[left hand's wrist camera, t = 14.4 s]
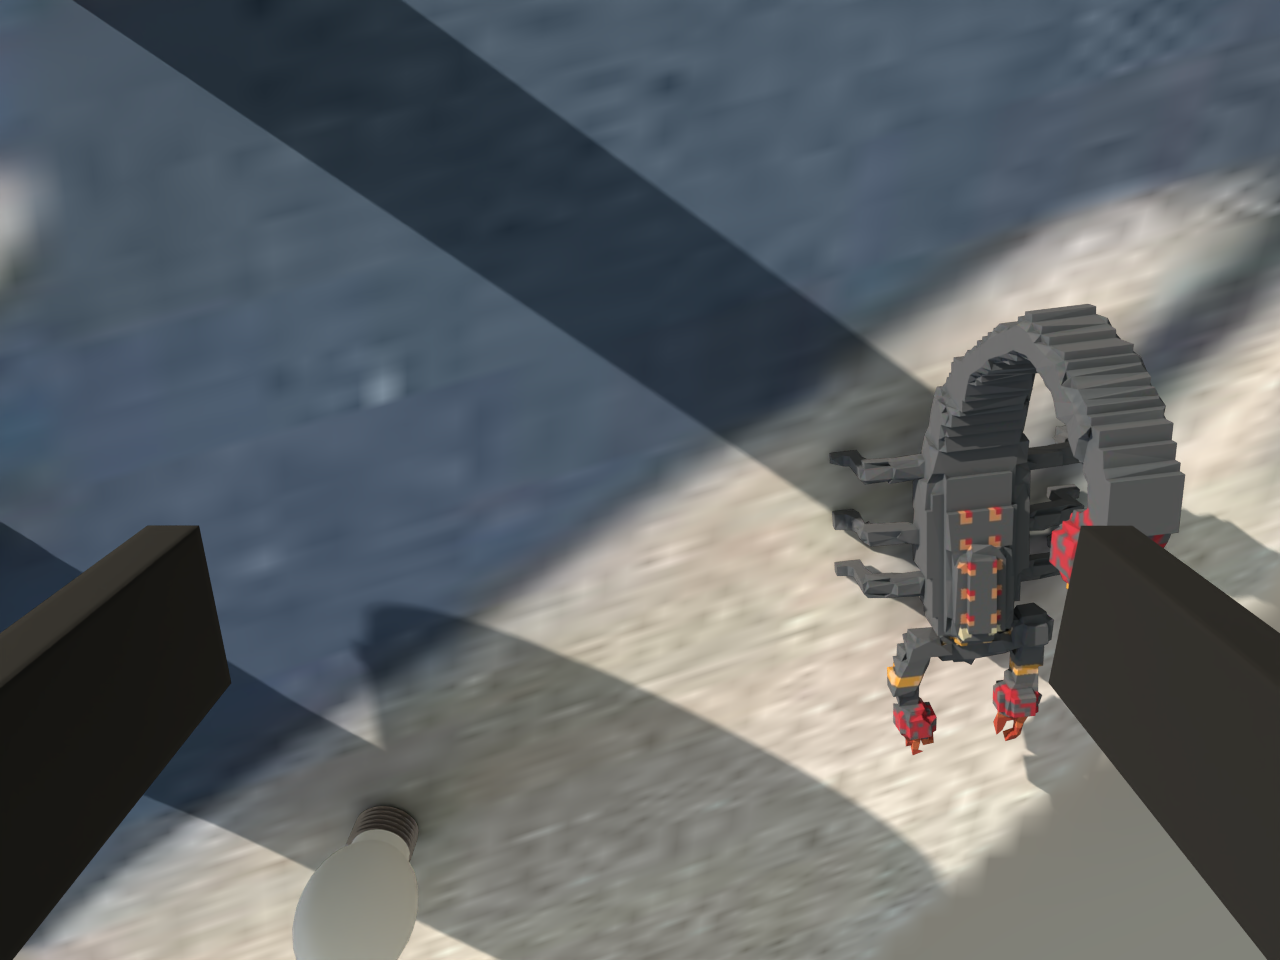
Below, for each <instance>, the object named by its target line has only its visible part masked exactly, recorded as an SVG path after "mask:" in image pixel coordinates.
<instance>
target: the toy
mask: <svg viewBox="0 0 1280 960" xmlns="http://www.w3.org/2000/svg"><path fill="white" fill-rule="evenodd" d="M1133 346H1134V344H1132V343H1129V342H1126V341H1124V340H1121V339H1120V338H1119V336H1118V335H1117V334H1116V329H1115V328H1113V327H1112V326H1111V324H1110V322H1109V320H1108V318H1106V317H1103V316H1100V315H1097V314H1096V306H1093V305H1090V304H1084V305H1075V306H1067V307H1059V308H1051V309H1042V310H1034V311H1026V312H1025V316H1020V317H1018V321H1017V322H1009V323H1001V324H999V325H998V326H997V327H996V328H994V330H993V332H988V336H984V337H982V340H979V341H977V346H974V347H973V348H972V350H967V352H966V354H965V356H962V357H954V362H951V373H949V377H947V380H946V383H945V384H944V385H943V386H940V387H937V388H936V391H935V394H934V398H933V403H932V407H931V413H930V421H929V426H928V429H927V431H926V433H925V436H924V441H923V446H922V451H921V452H922V453H921V454H915V455H909V456H903V457H896V458H880V459H865V458H863V457H862V456H861V455H860V454H859V453H858V451H857V450H852V451H843V452H835V453H830V463H832V464H837V465H841V466H849V467H850V468H851V469H852V470H853V471H854V473H855V474H856V475H857V476H858V478H859V479H860V480H861V481H862V482H863V483H864V484H872V483H880V482H888V483H889V484H892V483H898V482H904V481H910V480H913V508H914V520H913V523H909V522H896V523H878V524H870V523H869V522H867V523H865V524H864V522H863V520H862V518H861V516H860V514H859V512H857V511H855V510H854V509H849V510H840V511H832V517H833V527H834V529H835V530H853V531H854V532H856V533H857V534H858V536H859V538H860V539H861V540H862V541H863V542H865V543H866V544H868V545H869V546H871V547H872V546H883V545H893V544H904V543H909V544H913V560H914V562H915V563H916V564H917V566H918V567H919V569H920V570H921V571H916V572H908V573H878V574H873V573H871V572H870V571H869V570H867V569H866V568H865V566H864V565H863V563H862V562H861V560H851V561H842V562H835V572H836V575H837V576H853V577H854V578H855V580H856V581H857V583H858V585H859V586H860V588H861V590H862V592H863V593H864V594H865V595H866V596H867V597H868V598H892V597H910V596H920V599H921V601H922V602H923V604H924V612H925V616H926V618H927V620H928V621H929V623H930V624H931V626H932V627H930V628H916V629H908V631H907V633H905V634H903V639H904V643H900V644H897V656H893V660H894V663H893V667H887V681H888V687H889V689H890V691H891V693H892V695H893V697H896V698H897V701H898V704H894V703H893V722H894V724H895V725H896V727H897V728H898V730H899V731H900V733H901V735H903V736H904V737H905V738H906V746H910V745H911V749H912V754H913V755H915V754H917V753H920V752H922V751H921V750H918V748H919V744H920V740H921V741H922V743H923V745H926V744H930V743H934V741H933V732H934V731H936V718H937V717H936V715H935V713H934V711H933V709H932V707H931V705H930V703H929V702H923V701H922V699H921V698H920V697H919V685H920V683H921V681H922V678H923V676H924V673H925V671H926V669H927V667H928V665H929V662H930V658H931V657H939V658H940V659H941V660H942V661H949V660H953V662H963V661H964V662H967V663H969V664H971V665H972V663H973V661H974V659H975V658H980V657H986V656H991V655H997V654H1002V653H1006V652H1008V651H1010V664H1009V669H1008V670H1006V671H1004V680H999V681H996V684H995V685H994V686H993V704H994V706H995V707H996V709H997V710H998V713H997V715H996V717H995V719H994V726H995V730H996V734H998V733H999V732H1000V731H1002V729H1003V727H1004V725H1005V723H1006V721H1009V720H1014V724H1013V728H1011V729H1008V730H1005V731H1003V734H1004V738H1005V741H1007V740H1011V739H1014V738H1016V737H1017V736H1019V735H1020V734H1021V730H1022V727H1023V723H1024V722H1025V720H1026V719H1027V717H1028V716H1035V714H1036V713H1037V712H1038V704H1039V702H1040V699H1041V697H1042V695H1041V694H1040V693H1039V692H1038V667H1039V666H1043V656H1044V645H1046V644H1048V641H1050V640H1051V638H1052V630H1053V622H1054V620H1053V619H1052V618H1051V617H1050V616H1049V615H1047V612H1046V611H1044V610H1043V609H1042V608H1040V607H1039V606H1038V605H1036V604H1035V603H1029V604H1023V605H1017V606H1016V607H1015V608H1014V601H1020V584H1021V582H1022V581H1028V580H1035V579H1041V578H1045V577H1050V576H1055V575H1059V574H1061V576H1062V579H1063V580H1064V581H1065V582H1067V586H1066V588H1067V589H1068V586H1069V582H1070V577H1071V572H1072V567H1073V562H1074V557H1075V552H1076V547H1077V543H1078V538H1079V533H1080V528H1081V526H1134V527H1135V528H1136V529H1138V530H1139V531H1141V532H1142V533H1143V534H1145V535H1146V536H1147V537H1149V538H1150V539H1151V540H1153V541H1154V542H1156V543H1157V544H1158V545H1160V546H1161V547H1162V548H1164V547H1165V545H1166V544H1167V542H1168V540H1169V538H1170V535H1171V533H1178V532H1179V524H1180V515H1181V507H1182V498H1183V489H1184V481H1185V474H1183V473H1182V472H1180V464H1181V463H1180V462H1178V461H1176V460H1175V457H1176V448H1177V443H1176V442H1174V441H1172V432H1173V422H1170V421H1168V420H1166V418H1165V416H1164V412H1165V407H1166V405H1165V404H1164V403H1163V401H1162V400H1161V398H1160V397H1159V395H1158V393H1157V391H1156V389H1155V387H1152V385H1151V383H1150V380H1151V377H1150V375H1149V374H1148V372H1147V370H1146V368H1145V365H1144V363H1143V360H1142V358H1141V357H1140V356H1139V355H1138V354H1136V353H1135V352H1134V351H1133ZM1035 373H1039V374H1040V375H1041V377H1042V379H1043V381H1044V383H1045V385H1046V387H1047V388H1048V389H1049V390H1050V391H1051V394H1052V397H1053V401H1054V406H1055V412H1056V418H1058V419H1059V420H1060V421H1062V422H1063V423H1065V424H1066V425H1067V426H1059V427H1056V436H1055V437H1053V438H1054V439H1055V443H1056V444H1052V445H1048V446H1041V447H1032V448H1029V440H1028V438H1027V437H1026V436H1025V434H1024V433H1023V430H1024V426H1025V421H1026V417H1027V412H1028V406H1029V401H1030V397H1031V392H1032V387H1033V383H1034V378H1035ZM1080 462H1082V463H1083V474H1084V476H1085V478H1086V480H1087V483H1088V500H1087V509H1084V506H1083V505H1082V504H1081V503H1079V502H1078V501H1077V500H1076V498H1078V497H1079V491H1080V489H1079V488H1078V487H1076V486H1075V485H1074V484H1071V485H1062V486H1053V487H1047V497H1048V498H1049V499H1050V500H1051V502H1045V503H1039V504H1033V505H1030V470H1034V469H1041V468H1048V467H1055V466H1062V465H1068V464H1074V463H1080ZM1055 525H1059V528H1057V529H1055V530H1054V531H1052V535H1049V536H1047V542H1048V547H1049V548H1050V552H1049V553H1042V554H1034V555H1029V531H1037V530H1045V529H1047V528H1049V527H1051V526H1055Z"/></svg>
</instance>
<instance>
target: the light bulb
mask: <svg viewBox="0 0 1280 960" xmlns="http://www.w3.org/2000/svg"><path fill="white" fill-rule="evenodd" d="M418 833H419V831H418V826H417V823H416V822H415V820H414V819H413V818H412V817H411V816H410V815H409V814H407V813H406V812H404V811H402V810H399V809H396V808H393V807H387V806H379V807H373V808H370V809H367V810H365V811H364V812H362V813H361V814H360V815H359V816H358V818H357V820H356V823H355V825H354V827H353V829H352V832H351V834H350V836H349V838H348V841H347V843H346V847H344V848H341V849H339V850H338V851H337V852H335V853H334V854H333V855H331V856H330V857H329V858H328V859H326V860H325V861H324V862H323V863H322V864H321V866H320V867H319V868H318V869H317V870H316V871H315V873H314V874H313V875H312V876H311V878H310V880H309V881H308V883H307V885H306V887H305V888H304V890H303V892H302V894H301V897H300V899H299V902H298V905H297V908H296V912H295V917H294V923H293V929H292V931H293V949H294V953H295V956H296V960H397V959H398V958H399V956H400V954H401V953H402V951H403V949H404V948H405V946H406V944H407V943H408V941H409V938H410V936H411V933H412V931H413V928H414V924H415V921H416V916H417V911H418V886H417V881H416V876H415V872H414V870H413V868H412V867H411V865H410V860H411V856H412V854H413V851H414V847H415V845H416V842H417V838H418Z"/></svg>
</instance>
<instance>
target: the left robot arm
mask: <svg viewBox="0 0 1280 960" xmlns="http://www.w3.org/2000/svg"><path fill="white" fill-rule="evenodd" d="M230 684H231V679H230V674H229V669H228V665H227V660H226V655H225V650H224V645H223V640H222V635H221V630H220V625H219V621H218V616H217V611H216V606H215V601H214V596H213V591H212V586H211V582H210V577H209V572H208V567H207V562H206V557H205V552H204V547H203V543H202V538H201V533H200V528H199V526H146V527H145V528H144V529H142V530H141V531H139V532H138V533H137V534H135V535H134V536H133V537H131V538H130V539H129V540H127V541H126V542H124V543H123V544H122V545H120V546H119V547H118V548H116V549H115V550H113V551H112V552H111V553H109V554H108V555H107V556H105V557H104V558H103V559H101V560H100V561H98V562H97V563H96V564H94V565H93V566H92V567H90V568H89V569H88V570H86V571H85V572H83V573H82V574H81V575H79V576H78V577H77V578H75V579H74V580H72V581H71V582H70V583H68V584H67V585H66V586H64V587H63V588H62V589H60V590H59V591H57V592H56V593H55V594H53V595H52V596H51V597H49V598H48V599H47V600H45V601H44V602H42V603H41V604H40V605H38V606H37V607H36V608H34V609H33V610H31V611H30V612H29V613H27V614H26V615H25V616H23V617H22V618H21V619H19V620H18V621H16V622H15V623H14V624H12V625H11V626H10V627H8V628H7V629H5V630H4V631H3V632H1V633H0V960H13V959H14V957H15V956H16V955H17V953H18V952H19V951H20V950H21V948H22V947H23V946H24V945H25V943H26V942H27V941H28V940H29V938H30V937H31V936H32V934H33V933H34V932H35V931H36V929H37V928H38V927H39V926H40V924H41V923H42V922H43V921H44V919H45V918H46V917H47V916H48V914H49V913H50V912H51V910H52V909H53V908H54V907H55V905H56V904H57V903H58V902H59V900H60V899H61V898H62V897H63V895H64V894H65V893H66V891H67V890H68V889H69V888H70V886H71V885H72V884H73V883H74V881H75V880H76V879H77V878H78V876H79V875H80V874H81V872H82V871H83V870H84V869H85V867H86V866H87V865H88V864H89V862H90V861H91V860H92V859H93V857H94V856H95V855H96V853H97V852H98V851H99V850H100V848H101V847H102V846H103V845H104V843H105V842H106V841H107V840H108V838H109V837H110V836H111V834H112V833H113V832H114V831H115V829H116V828H117V827H118V826H119V824H120V823H121V822H122V821H123V819H124V818H125V817H126V815H127V814H128V813H129V812H130V810H131V809H132V808H133V807H134V805H135V804H136V803H137V802H138V800H139V799H140V798H141V796H142V795H143V794H144V793H145V791H146V790H147V789H148V788H149V786H150V785H151V784H152V783H153V781H154V780H155V779H156V778H157V776H158V775H159V774H160V772H161V771H162V770H163V769H164V767H165V766H166V765H167V764H168V762H169V761H170V760H171V759H172V757H173V756H174V755H175V753H176V752H177V751H178V750H179V748H180V747H181V746H182V745H183V743H184V742H185V741H186V740H187V738H188V737H189V736H190V734H191V733H192V732H193V731H194V729H195V728H196V727H197V726H198V724H199V723H200V722H201V721H202V719H203V718H204V717H205V715H206V714H207V713H208V712H209V710H210V709H211V708H212V707H213V705H214V704H215V703H216V702H217V700H218V699H219V698H220V696H221V695H222V694H223V693H224V691H225V690H226V689H227V688H228V686H229V685H230ZM1049 684H1050V685H1051V686H1052V688H1053V689H1054V690H1055V691H1056V693H1057V694H1058V695H1059V696H1060V698H1061V699H1062V700H1063V702H1064V703H1065V704H1066V705H1067V707H1068V708H1069V709H1070V710H1071V712H1072V713H1073V714H1074V715H1075V717H1076V718H1077V719H1078V721H1079V722H1080V723H1081V724H1082V726H1083V727H1084V728H1085V729H1086V731H1087V732H1088V733H1089V734H1090V736H1091V737H1092V738H1093V740H1094V741H1095V742H1096V743H1097V745H1098V746H1099V747H1100V748H1101V750H1102V751H1103V752H1104V753H1105V755H1106V756H1107V757H1108V759H1109V760H1110V761H1111V762H1112V764H1113V765H1114V766H1115V767H1116V769H1117V770H1118V771H1119V772H1120V774H1121V775H1122V776H1123V778H1124V779H1125V780H1126V781H1127V783H1128V784H1129V785H1130V786H1131V788H1132V789H1133V790H1134V791H1135V793H1136V794H1137V795H1138V796H1139V798H1140V799H1141V800H1142V802H1143V803H1144V804H1145V805H1146V807H1147V808H1148V809H1149V810H1150V812H1151V813H1152V814H1153V815H1154V817H1155V818H1156V819H1157V821H1158V822H1159V823H1160V824H1161V826H1162V827H1163V828H1164V829H1165V831H1166V832H1167V833H1168V834H1169V836H1170V837H1171V838H1172V840H1173V841H1174V842H1175V843H1176V845H1177V846H1178V847H1179V848H1180V850H1181V851H1182V852H1183V853H1184V855H1185V856H1186V857H1187V859H1188V860H1189V861H1190V862H1191V864H1192V865H1193V866H1194V867H1195V869H1196V870H1197V871H1198V872H1199V874H1200V875H1201V876H1202V878H1203V879H1204V880H1205V881H1206V883H1207V884H1208V885H1209V886H1210V888H1211V889H1212V890H1213V891H1214V893H1215V894H1216V895H1217V896H1218V898H1219V899H1220V900H1221V902H1222V903H1223V904H1224V905H1225V907H1226V908H1227V909H1228V910H1229V912H1230V913H1231V914H1232V916H1233V917H1234V918H1235V919H1236V921H1237V922H1238V923H1239V924H1240V926H1241V927H1242V928H1243V929H1244V931H1245V932H1246V933H1247V935H1248V936H1249V937H1250V938H1251V940H1252V941H1253V942H1254V943H1255V945H1256V946H1257V947H1258V948H1259V950H1260V951H1261V952H1262V953H1263V955H1264V956H1265V957H1266V959H1267V960H1280V633H1279V632H1277V631H1276V630H1275V629H1273V628H1272V627H1270V626H1269V625H1268V624H1266V623H1265V622H1264V621H1262V620H1261V619H1259V618H1258V617H1257V616H1255V615H1254V614H1253V613H1251V612H1250V611H1249V610H1247V609H1246V608H1244V607H1243V606H1242V605H1240V604H1239V603H1238V602H1236V601H1235V600H1233V599H1232V598H1231V597H1229V596H1228V595H1227V594H1225V593H1224V592H1223V591H1221V590H1220V589H1218V588H1217V587H1216V586H1214V585H1213V584H1212V583H1210V582H1209V581H1208V580H1206V579H1205V578H1203V577H1202V576H1201V575H1199V574H1198V573H1197V572H1195V571H1194V570H1192V569H1191V568H1190V567H1188V566H1187V565H1186V564H1184V563H1183V562H1182V561H1180V560H1179V559H1177V558H1176V557H1175V556H1173V555H1172V554H1171V553H1169V552H1168V551H1167V550H1165V549H1164V548H1162V547H1161V546H1160V545H1158V544H1157V543H1156V542H1154V541H1153V540H1151V539H1150V538H1149V537H1147V536H1146V535H1145V534H1143V533H1142V532H1141V531H1139V530H1138V529H1136V528H1135V527H1134V526H1081V528H1080V533H1079V538H1078V543H1077V547H1076V552H1075V557H1074V562H1073V567H1072V572H1071V577H1070V582H1069V586H1068V591H1067V596H1066V601H1065V606H1064V611H1063V616H1062V621H1061V625H1060V630H1059V635H1058V640H1057V645H1056V650H1055V655H1054V660H1053V665H1052V669H1051V674H1050V679H1049Z"/></svg>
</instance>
